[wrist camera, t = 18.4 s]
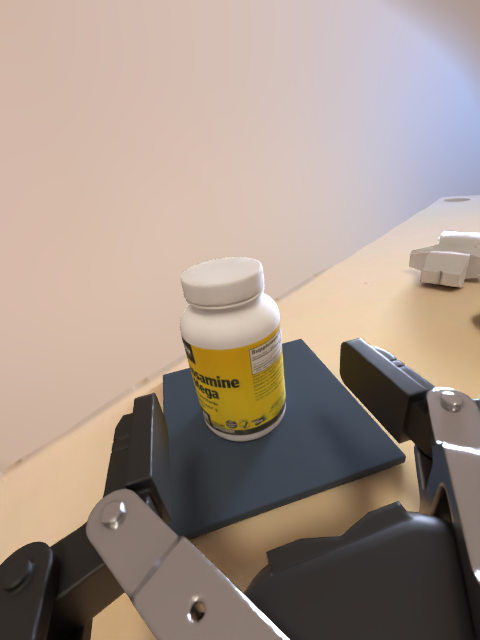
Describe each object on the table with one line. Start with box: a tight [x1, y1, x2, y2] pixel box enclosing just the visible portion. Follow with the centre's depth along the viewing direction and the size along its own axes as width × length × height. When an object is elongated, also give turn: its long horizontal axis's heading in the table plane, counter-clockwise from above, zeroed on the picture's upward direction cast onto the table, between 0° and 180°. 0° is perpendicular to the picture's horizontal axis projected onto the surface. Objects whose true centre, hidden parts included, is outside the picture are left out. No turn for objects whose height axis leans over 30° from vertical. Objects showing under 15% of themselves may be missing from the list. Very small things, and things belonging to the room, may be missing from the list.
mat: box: [163, 339, 406, 540], centre depth 21 cm, size 14×14×1 cm
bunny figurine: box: [409, 231, 480, 288], centre depth 38 cm, size 10×5×15 cm
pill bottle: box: [180, 257, 286, 442], centre depth 18 cm, size 6×6×11 cm
